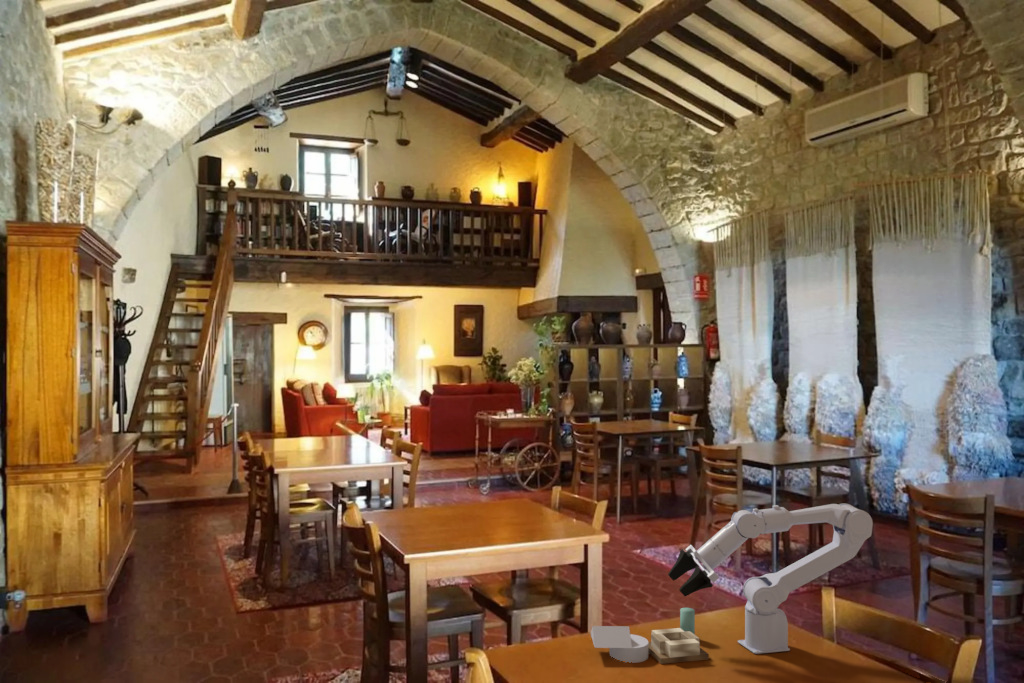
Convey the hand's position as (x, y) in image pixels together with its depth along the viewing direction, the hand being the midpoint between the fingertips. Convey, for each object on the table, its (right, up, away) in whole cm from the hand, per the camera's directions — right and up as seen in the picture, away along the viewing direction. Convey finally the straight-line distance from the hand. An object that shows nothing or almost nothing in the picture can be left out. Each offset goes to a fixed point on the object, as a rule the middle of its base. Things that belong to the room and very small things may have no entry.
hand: (676, 585), depth 185 cm
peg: (+4, -15, +4) cm, 16 cm away
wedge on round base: (-15, -14, -7) cm, 22 cm away
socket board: (-1, -14, -6) cm, 15 cm away
